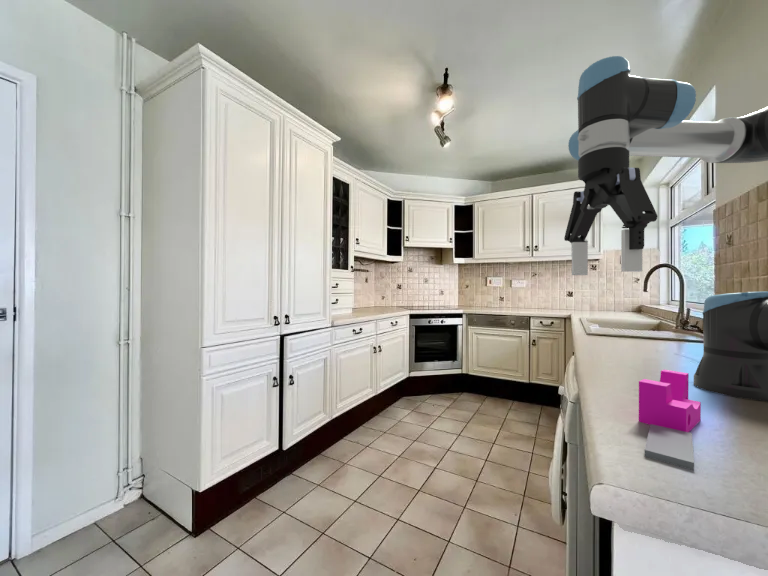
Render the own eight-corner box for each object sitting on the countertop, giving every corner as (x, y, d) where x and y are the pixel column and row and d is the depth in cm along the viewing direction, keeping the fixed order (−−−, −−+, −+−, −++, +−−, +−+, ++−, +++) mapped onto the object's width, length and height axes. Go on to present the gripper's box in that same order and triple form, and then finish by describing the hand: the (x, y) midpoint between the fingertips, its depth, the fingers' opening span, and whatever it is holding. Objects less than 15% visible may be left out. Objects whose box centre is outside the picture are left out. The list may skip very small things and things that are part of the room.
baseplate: (650, 430, 54) (650, 424, 54) (691, 439, 51) (691, 433, 51) (644, 456, 45) (644, 449, 45) (693, 470, 42) (693, 462, 42)
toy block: (686, 436, 52) (686, 390, 52) (638, 423, 57) (638, 381, 57) (706, 415, 61) (706, 376, 61) (663, 406, 66) (663, 369, 66)
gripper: (546, 178, 70) (546, 276, 70) (635, 116, 45) (635, 269, 45) (581, 178, 70) (581, 276, 70) (690, 116, 45) (690, 269, 45)
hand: (602, 273), depth 57 cm, fingers open, 13 cm apart
